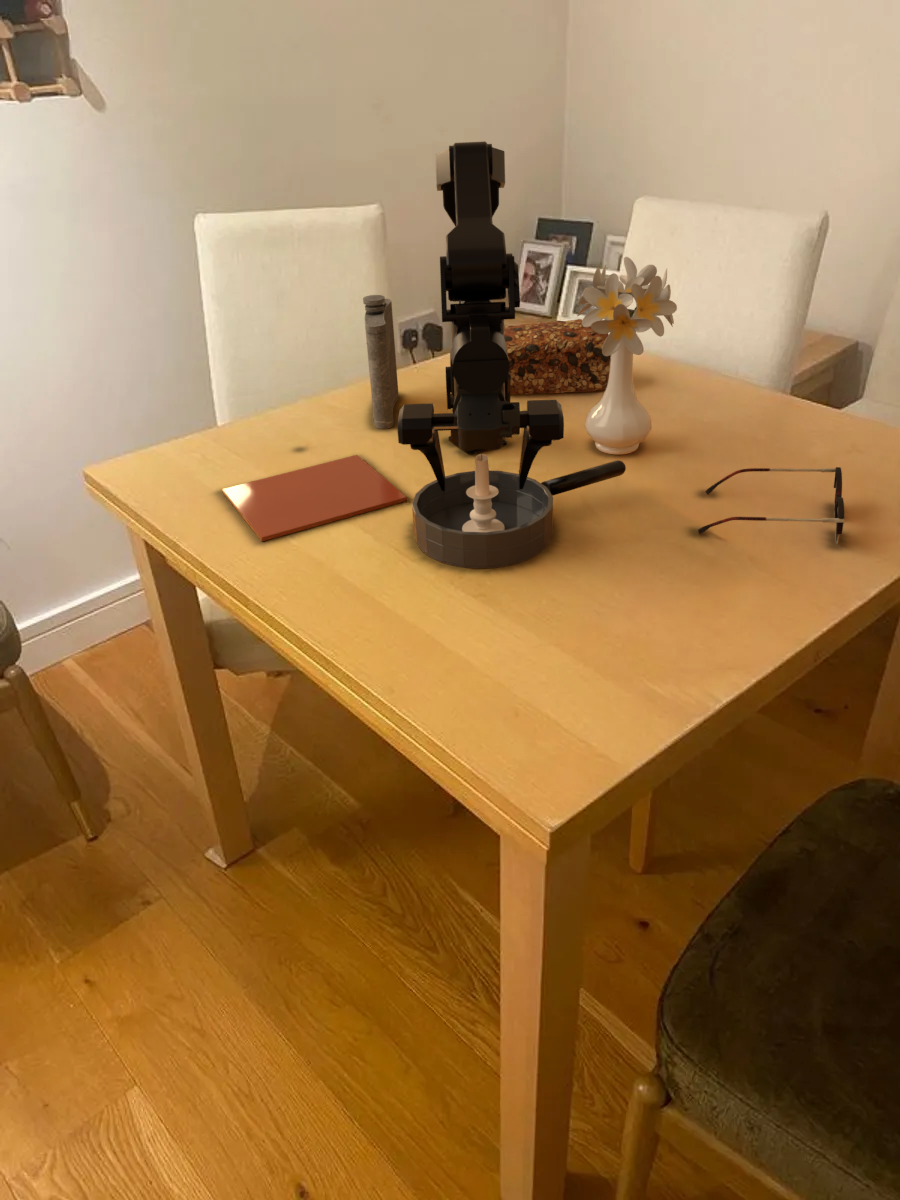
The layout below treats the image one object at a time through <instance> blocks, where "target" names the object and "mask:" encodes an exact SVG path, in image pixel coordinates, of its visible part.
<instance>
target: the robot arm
mask: <svg viewBox="0 0 900 1200" xmlns="http://www.w3.org/2000/svg"><path fill="white" fill-rule="evenodd" d="M505 155H506V154H505V151H504V150H502V149H499V148H496V147H493V143H488V142H487V141H485V140H484V141H467V142H466V141H465V142H464V141H463V142H454V143H453V144H452V145H448V148H447V149H445V150H443V151H440V152H438V153H435V154H434V159H435V180H436V181H435V182H436V184H435V185H436V191H437V192H441V191H442V203H443V204H442V206H443V209H444V211H445V212H446V215H447V216H448V217H449V219H450V220H451V222H452V224H453V225H454V227H453V228H452V229H451V230H450V231H449V232H448V233H447V234H446V236H445V250H446V251H445V254H446V255H444V256H443V255H441V256H439V271H440V272H439V274H440V275H439V277H440V301H441V303H440V304H441V322H442V323H451V340H452V341H451V345H452V347H451V348H450V350H449V365H450V366H445V389H446V391H445V393H446V408H447V410H452V412H443V413H442V412H441V413H435V408H434V407H435V406H434V403H433V402H432V403H431V402H430V403H404V404H403V405H402V407H401V408H400V409H399V412H398V413H399V414H398V418H397V441H398V444H401V445H403V446H404V445H406V446H407V445H409V447H410V449H411V450H413V451H420V453H422V454H423V455H424V456H425V458H426V460H427V461H428V463H429V465H430V467H431V469H432V472H433V474H434V476H435V480H437V481H438V483H439V486H440V488H441V490H442V491H445V476H446V471H445V465H444V460H443V454H442V453H443V452H442V448H441V441H440V435H439V432H440V431H450V435H449V436H448V442H450V443H452V444H453V445H454V446H456V447H457V448H458V449H460V450H462V451H463V452H464V453H466V454H467V455H473V454H477V453H482V452H485V451H488V450H489V451H498V450H500V449H501V448H502V447H504V446H507V444H508V441H507V440H506V439H507V438H508V439H512V438H513V436H519V435H520V434H521V429H523V433H522V434H523V435H522V442H521V449H520V450H521V451H520V459H519V469H518V474H519V489H523V487H524V484H525V482H526V479H527V477H529V473H530V471H531V468H532V465H533V462H534V460H535V458H536V456H537V454H538V452H540V451H541V449H542V448H544V447H550V446H552V443H553V441H560V440H563V439H564V438H565V417H564V411H563V406H562V404H561V403H560V402H559V400H557V399H533V400H532V399H530V400H527V401H526V410H521V404H520V402H519V401H511V394H510V386H511V375H510V374H509V359H508V353H507V347H506V341H505V339H504V327H505V320H515V319H516V308H521V293H520V274H519V264H518V262H516V261H515V255H513V253H512V252H511V253H510V252H507V247H506V246H507V245H506V237H505V233H504V232H503V231H502V230H501V229H500V228H498V227H497V226H496V225H495V224H493V217H494V215H495V213H496V211H497V210H498V208H499V206H500V189H504V188H505V186H506V160H505V159H506V158H505ZM447 296H448V297H447ZM506 298H507V300H508V301H507V302H508V306H507V305H506V301H502V300H505V299H506ZM447 299H448V301H450V302H454V303H450V308H449V309H448V304H447ZM499 300H501V301H499ZM457 302H458V303H457Z"/></svg>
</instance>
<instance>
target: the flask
mask: <svg viewBox="0 0 900 1200" xmlns="http://www.w3.org/2000/svg"><path fill="white" fill-rule="evenodd" d="M362 303H363V305H364V310H365V313H364V328H365V338H366V339H365V340H366V350H367V361H368V371H369V372H368V373H369V383H370V392H371V393H370V394H371V404H372V405H371V406H372V416H373V424H374V427H375V428H376V429H378V430H388V429H390V428H393V427H394V426H395V424H394V407H395V404H396V403H397V401H398V400H399V397H400V395H399V394H400V393H399V384H398V383H399V381H398V369H397V356H396V345H395V343H396V342H395V329H394V328H395V327H394V316H393V303H392V299H390V298H386V297H385V296H384V295H382V294H370V295H366V296H364V297H363V298H362Z"/></svg>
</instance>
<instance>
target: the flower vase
mask: <svg viewBox="0 0 900 1200" xmlns="http://www.w3.org/2000/svg"><path fill="white" fill-rule="evenodd" d="M623 265H624V268H625V272H626V274H620V275H619V276H618V274H617V273H615V272H613V273H611V274H610V275H609V276H608V277H606V276H607V275H606V273H607V264H605V265H604V267H603V269H602V272H601V268H600V267H599V266H598V267H597V268H596V270H595V271H594V274H593V277H592V286H587V287H585V288H584V289H583V291H582V295H581V296H580V298H579V300H578V305H583V306H582V307H581V309H580V310H579V311H578V313H577V315H576V317H579V316H580V315H582V314H583V313H584V312H586V311H588V310H589V309H590V308H592V307H595V308H592V309H591V310H590V311H588V312H587V313H586V314H585V315H584V317H583V318H582V325H583V327H589V326H591V329H592V330H593V331H595V332H597V333H600V334H609V335H608V337H607V338H606V340H605V342H604V344H603V347H602V354H603V355H605V356H610V355H611V361H610V372H609V379H608V384H607V388H606V389H604V393H603V395H602V396H601V399H600V400H599V401H598V402H596V404H595V405H593V407H592V408H591V409H590V410H589V411H588V413H587V415H586V417H585V421H584V429H585V431H586V433H587V435H588V436H589V438H590V439H591V440H592V441H593V442H594V446H595V448H596V449H597V450H599V451H600V452H602V453H605V454H608V455H627V454H631V453H633V452H635V451H637V450H638V448H639V447H640V443H641V442H644V440H645V439H646V438H647V437H648V436H649V434H650V433H651V431H652V427H653V426H652V425H653V424H652V418H651V415H650V413H649V412H648V409H647V408H646V407H645V406H644V405H643V404H642V403H641V402H640V400H639V398H638V397H637V393H636V391H635V386H634V375H633V374H634V355H635V356H640V355H642V354H643V353H644V349H645V348H644V345H643V342H642V340H641V339H640V337H639V335H638V333H644V332H645V333H646V332H647V331H649V330H650V329H651V330H652V331H653V333H654V334H655V335H656V336H658V337H663V336H664V334H665V326H664V323H663V320H662V319H661V318H660V316H661V317H664V318H665V319H666V321H667V322H668V324H670V325H671V327H672V328H674V324H675V319H674V315H673V314H674V313H676V311H677V310H678V305H677V304H676V302H675V301H673V300H671V293H672V289H671V285H670V284H669V283H668V284H667V279H668V268H666V269H665V272H664V274H663V276H662V277H661V276H659V275H657V273H658V269H657V267H656V265H655V264H647V265H645V266H643V267H642V268H641V269H640V270H639V272H638V268H637V266H636V264H635V263H634V261H633V260H632V259H631V258H630V257H629V256H624V257H623ZM666 284H667V285H666ZM634 301H635V305H636V306H635V307H634V308H633V309H632V308H629V307H630V306H631V305H632V303H633V302H634Z"/></svg>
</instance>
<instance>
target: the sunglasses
mask: <svg viewBox="0 0 900 1200" xmlns="http://www.w3.org/2000/svg"><path fill="white" fill-rule="evenodd" d="M750 472H762V473H763V472H821V473H834V481H833V489H835V491H834V501H833V502H834V503H833V515H834V517H823V518H794V517H793V518H792V517H791V518H790V517H765V516H730V517H727V518H723V519H720V520H717V521H714V522H711V523H708V524H706V525H703V526H702V527H700V528H698V529H697V532H698V533H699V534H700V535H701V534H702V533H705V532H706V531H708V530H709V529H711V528H713V527H716V526H719V525H721V524H724V523H728V522H731V521H755V522H756V521H757V522H758V521H760V522H761V521H762V522H763V521H764V522H765V521H766V522H770V521H771V522H813V523H815V522H816V523H818V522H820V523H835V544H839V541H840V535H843V530H844V523H845V502H844V498H843V471H842V468H841V467H840V466H836V467H834V468H833V467H832V468H830V467H829V468H825V467H823V468H774V467H773V468H772V467H771V468H770V467H769V468H768V467H767V468H765V467H764V468H763V467H759V468H758V467H754V468H753V467H752V468H751V467H750V468H749V467H748V468H741V469H737V470H735V471H733V472H731V473H730V474H728V475H726V476H725V477H723V478H721V479H720V480H718V481H717V482H715V483H713V484H711V485H710V486H709V487H708V488H707V489H705V491H704V492H705V494H706V495H710V494H711V493H712V492H713V491H714V490H715V489H716V488H717V487H718V486H719V485H721V484H722V483H724V482H726V481H728V480H729V479H730V478H732V477H734V476H735V475H738V474H741V473H750Z"/></svg>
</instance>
